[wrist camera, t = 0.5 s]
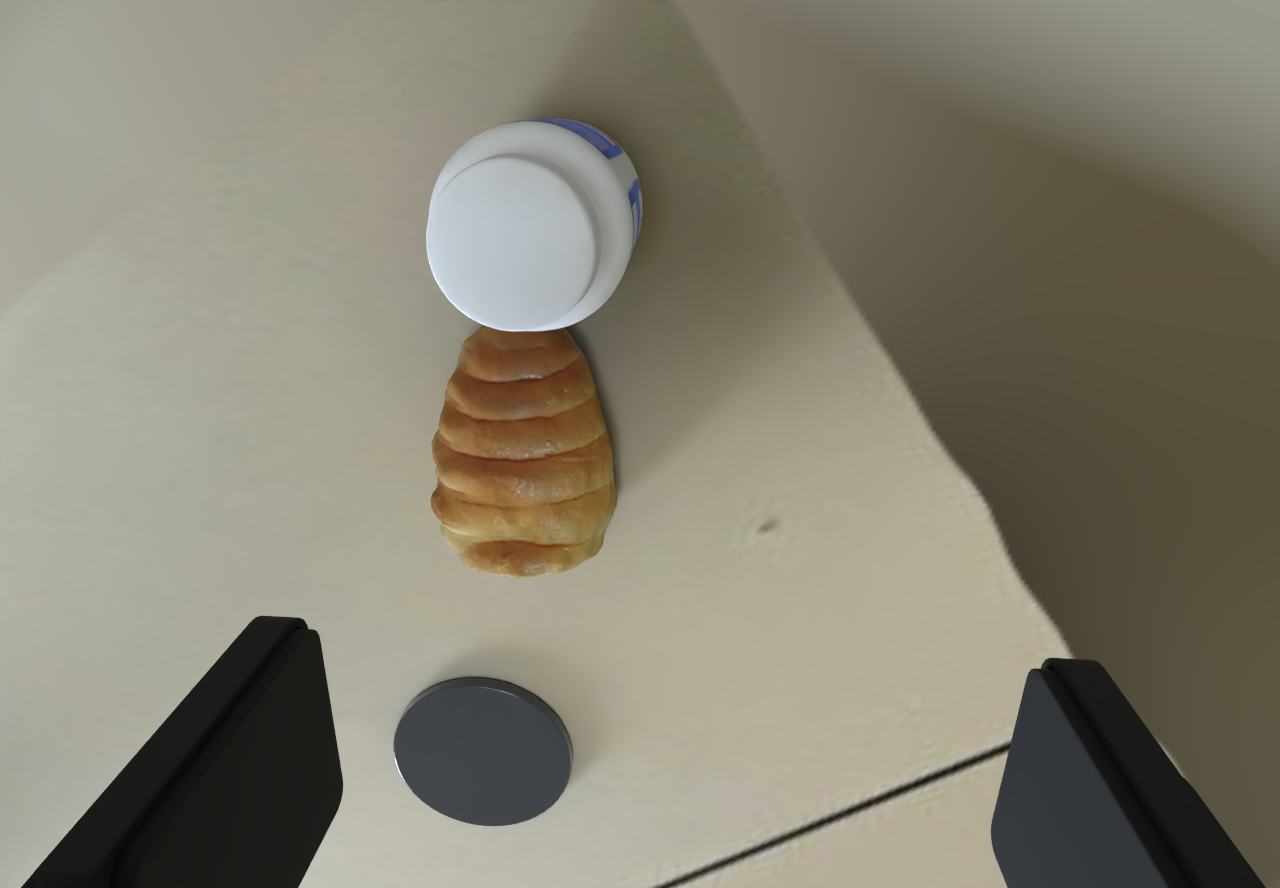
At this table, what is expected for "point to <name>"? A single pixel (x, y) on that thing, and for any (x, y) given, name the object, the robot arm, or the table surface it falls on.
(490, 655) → the table surface
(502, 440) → the pastry
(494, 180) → the pill bottle
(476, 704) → the coaster
